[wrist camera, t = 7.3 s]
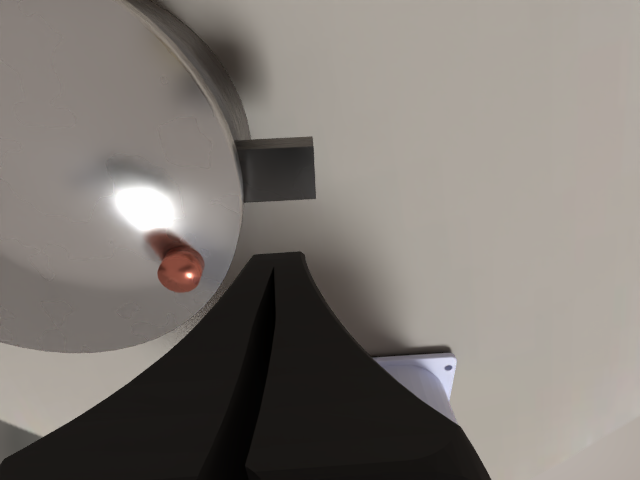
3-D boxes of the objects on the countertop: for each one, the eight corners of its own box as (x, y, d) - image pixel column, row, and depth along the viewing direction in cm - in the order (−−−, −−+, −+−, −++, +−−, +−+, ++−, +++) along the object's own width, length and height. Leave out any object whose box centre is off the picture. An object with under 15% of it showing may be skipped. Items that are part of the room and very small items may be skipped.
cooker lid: (263, 323, 17) (260, 356, 16) (-60, 343, 17) (-98, 379, 15) (194, -166, 10) (173, -201, 8) (-395, -147, 9) (-542, -179, 8)
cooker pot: (316, 252, 22) (321, 320, 17) (-29, 272, 22) (-120, 347, 17) (302, -32, 16) (304, -48, 11) (-191, -12, 15) (-412, -19, 11)
